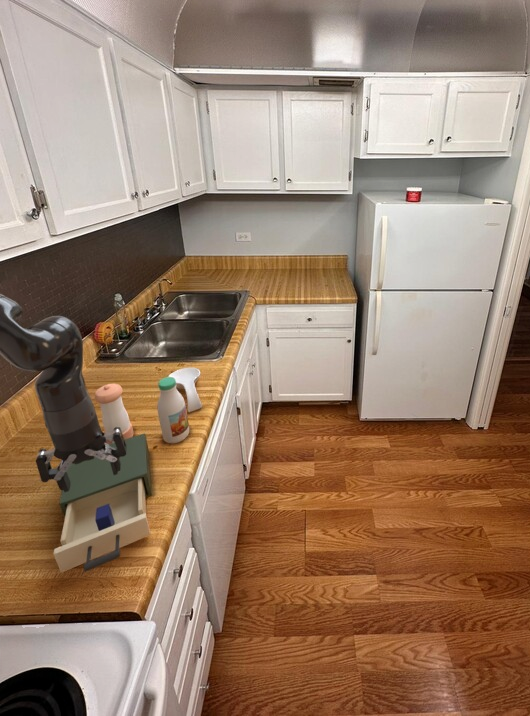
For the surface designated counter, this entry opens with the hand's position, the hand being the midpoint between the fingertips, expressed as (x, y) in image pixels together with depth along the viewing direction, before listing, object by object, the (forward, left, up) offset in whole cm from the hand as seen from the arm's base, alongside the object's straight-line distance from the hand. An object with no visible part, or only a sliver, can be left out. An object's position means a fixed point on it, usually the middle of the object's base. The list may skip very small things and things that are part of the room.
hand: (92, 479), depth 69 cm
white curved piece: (+23, +45, -17) cm, 53 cm away
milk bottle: (+17, +25, -17) cm, 35 cm away
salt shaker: (+1, +31, -17) cm, 36 cm away
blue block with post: (0, +1, -15) cm, 15 cm away
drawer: (0, -1, -16) cm, 16 cm away
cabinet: (0, +13, -17) cm, 22 cm away
